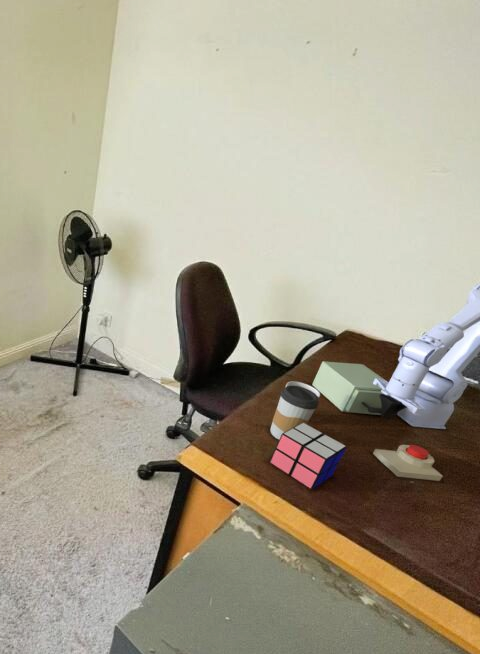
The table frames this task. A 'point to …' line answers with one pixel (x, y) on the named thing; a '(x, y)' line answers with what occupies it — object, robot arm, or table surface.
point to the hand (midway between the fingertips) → (384, 418)
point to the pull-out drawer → (365, 402)
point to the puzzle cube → (307, 455)
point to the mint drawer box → (344, 381)
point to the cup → (304, 387)
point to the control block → (408, 464)
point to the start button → (417, 452)
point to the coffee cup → (293, 409)
